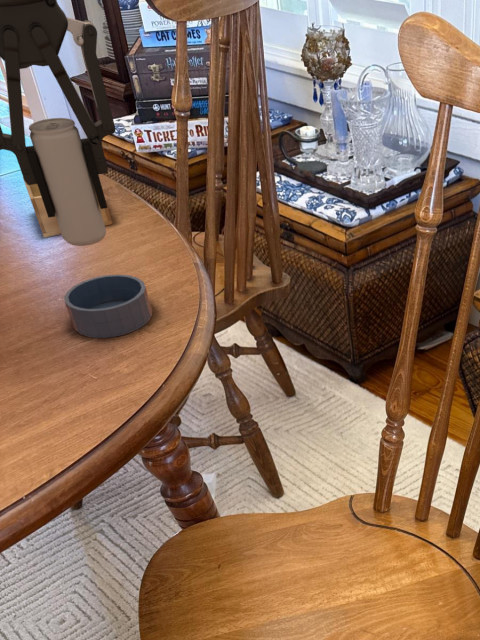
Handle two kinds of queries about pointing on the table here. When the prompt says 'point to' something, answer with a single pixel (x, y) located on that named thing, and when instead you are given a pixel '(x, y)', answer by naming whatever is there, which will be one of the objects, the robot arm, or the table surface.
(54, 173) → the beverage can
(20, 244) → the table surface
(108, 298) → the dish
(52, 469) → the table surface
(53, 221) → the box
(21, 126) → the robot arm
